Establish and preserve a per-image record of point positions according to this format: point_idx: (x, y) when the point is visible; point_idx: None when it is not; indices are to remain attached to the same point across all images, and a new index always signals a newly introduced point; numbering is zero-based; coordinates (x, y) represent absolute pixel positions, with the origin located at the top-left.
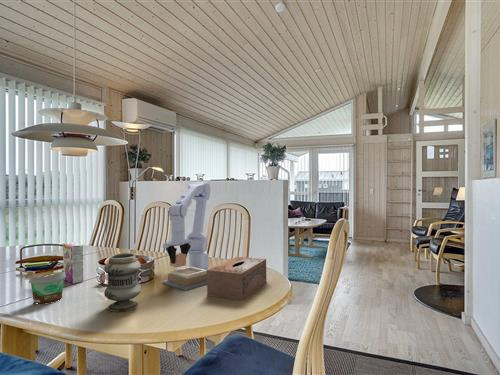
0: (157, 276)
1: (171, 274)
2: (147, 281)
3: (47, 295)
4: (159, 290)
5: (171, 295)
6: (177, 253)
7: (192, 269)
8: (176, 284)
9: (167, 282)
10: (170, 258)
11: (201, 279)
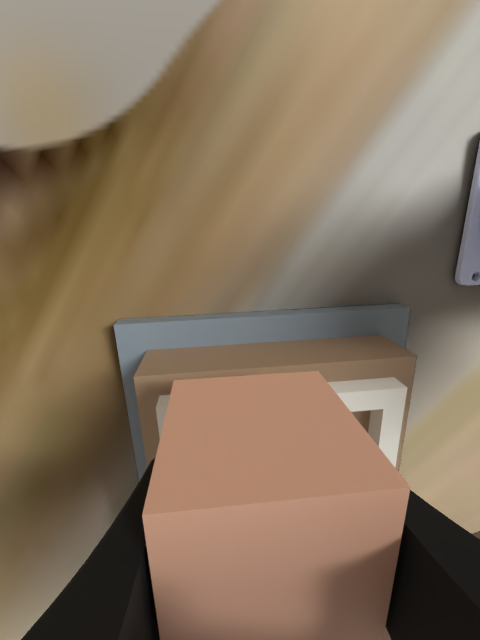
0: (194, 71)
1: (149, 419)
2: (36, 161)
3: None
4: (23, 443)
5: (45, 552)
6: (324, 535)
7: (371, 422)
8: (145, 467)
9: (123, 385)
10: (123, 522)
11: None
